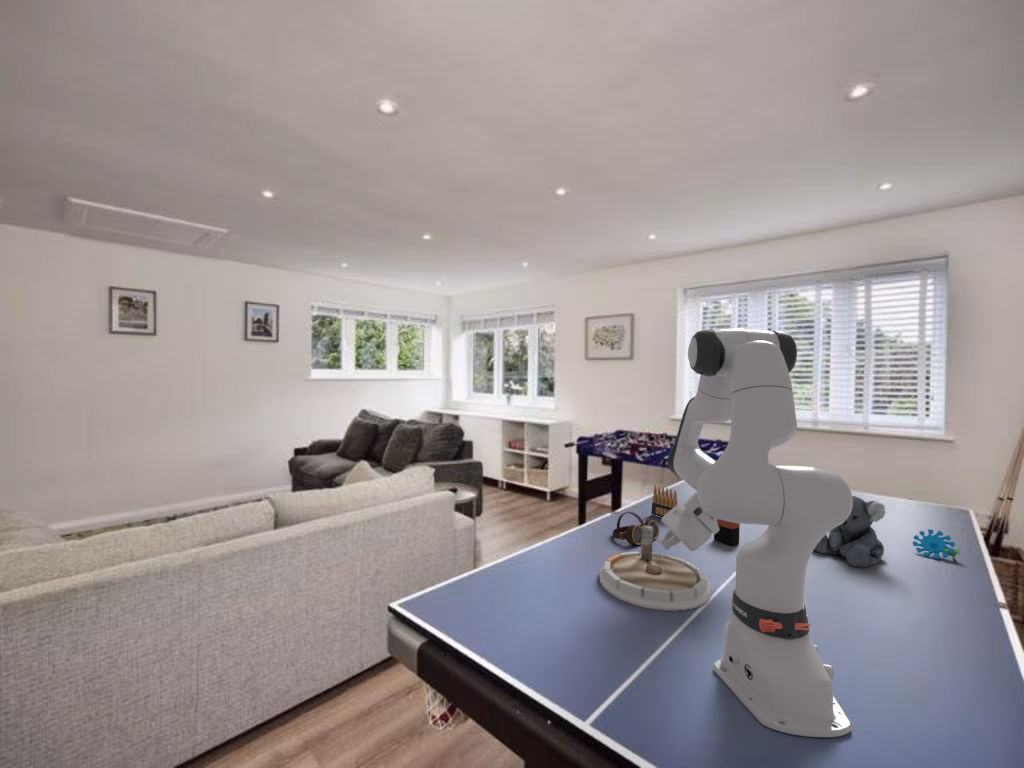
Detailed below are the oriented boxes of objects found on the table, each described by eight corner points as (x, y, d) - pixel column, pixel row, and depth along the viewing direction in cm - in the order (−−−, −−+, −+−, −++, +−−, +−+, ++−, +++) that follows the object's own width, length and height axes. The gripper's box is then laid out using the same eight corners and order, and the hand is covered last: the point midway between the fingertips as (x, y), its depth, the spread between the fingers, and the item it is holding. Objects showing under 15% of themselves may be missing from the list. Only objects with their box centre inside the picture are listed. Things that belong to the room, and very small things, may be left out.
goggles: (636, 548, 148) (631, 516, 150) (604, 546, 158) (600, 515, 160) (663, 538, 158) (658, 508, 159) (632, 536, 168) (627, 508, 169)
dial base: (729, 613, 109) (729, 597, 109) (607, 608, 111) (607, 592, 111) (690, 564, 137) (690, 551, 137) (593, 560, 139) (594, 548, 139)
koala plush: (804, 549, 151) (806, 489, 150) (843, 543, 157) (845, 485, 157) (861, 571, 135) (863, 503, 134) (901, 563, 141) (904, 498, 141)
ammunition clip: (651, 515, 184) (651, 485, 184) (654, 514, 186) (654, 484, 185) (675, 522, 176) (675, 490, 176) (678, 521, 177) (678, 490, 177)
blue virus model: (905, 546, 150) (921, 523, 152) (909, 556, 152) (925, 533, 155) (949, 564, 140) (965, 538, 142) (952, 574, 143) (968, 549, 145)
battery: (731, 546, 152) (732, 516, 152) (713, 540, 158) (713, 510, 158) (739, 544, 154) (740, 514, 154) (721, 538, 160) (722, 508, 160)
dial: (708, 598, 113) (709, 554, 112) (620, 594, 114) (621, 551, 114) (682, 562, 134) (683, 526, 133) (607, 559, 135) (608, 523, 135)
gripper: (678, 494, 142) (645, 526, 142) (705, 515, 122) (667, 552, 122) (692, 509, 142) (659, 541, 143) (722, 533, 122) (683, 569, 122)
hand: (663, 546), depth 132 cm, fingers closed
